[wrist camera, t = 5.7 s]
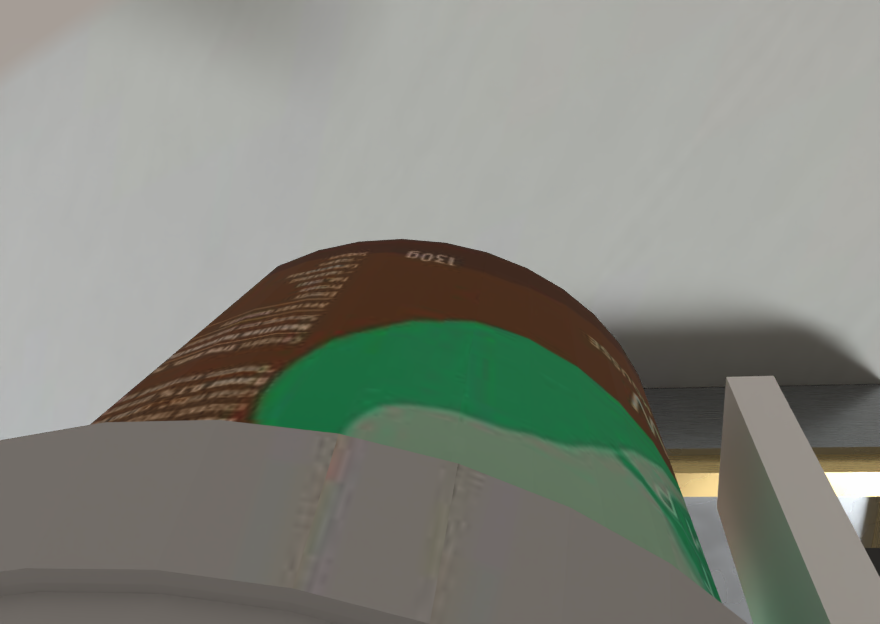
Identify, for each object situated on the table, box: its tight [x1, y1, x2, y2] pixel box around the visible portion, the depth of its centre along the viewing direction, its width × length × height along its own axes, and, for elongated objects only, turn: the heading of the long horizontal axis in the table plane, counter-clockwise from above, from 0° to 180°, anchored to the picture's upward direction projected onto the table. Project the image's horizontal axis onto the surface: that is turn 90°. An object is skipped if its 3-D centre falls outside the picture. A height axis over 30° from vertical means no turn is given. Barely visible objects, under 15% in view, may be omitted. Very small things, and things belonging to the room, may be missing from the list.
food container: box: [0, 239, 748, 624], centre depth 11 cm, size 12×6×10 cm, turn 28°
